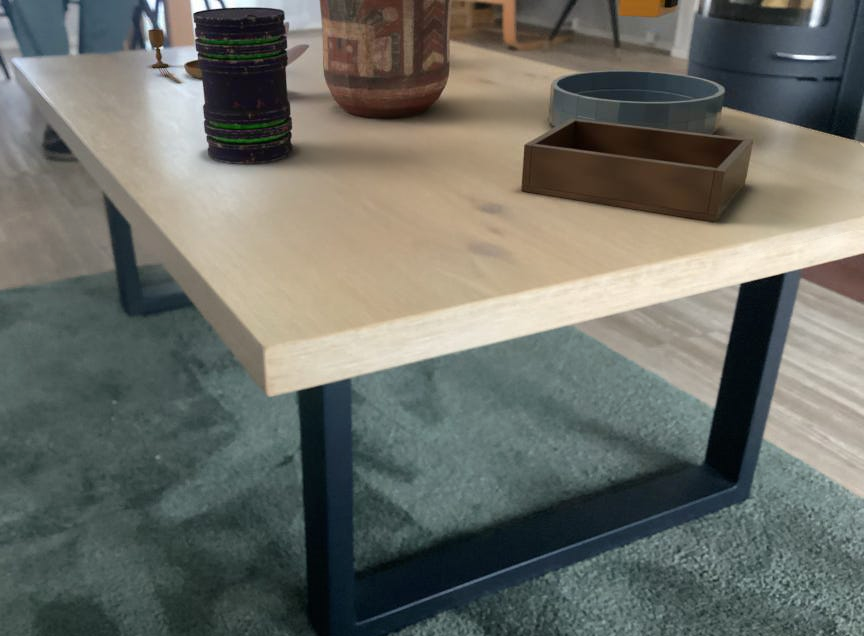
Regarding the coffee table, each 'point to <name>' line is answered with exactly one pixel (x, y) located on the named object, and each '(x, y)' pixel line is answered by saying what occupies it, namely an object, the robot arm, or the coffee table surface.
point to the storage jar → (244, 83)
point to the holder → (638, 167)
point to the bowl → (638, 100)
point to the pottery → (386, 54)
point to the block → (644, 8)
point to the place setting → (190, 67)
